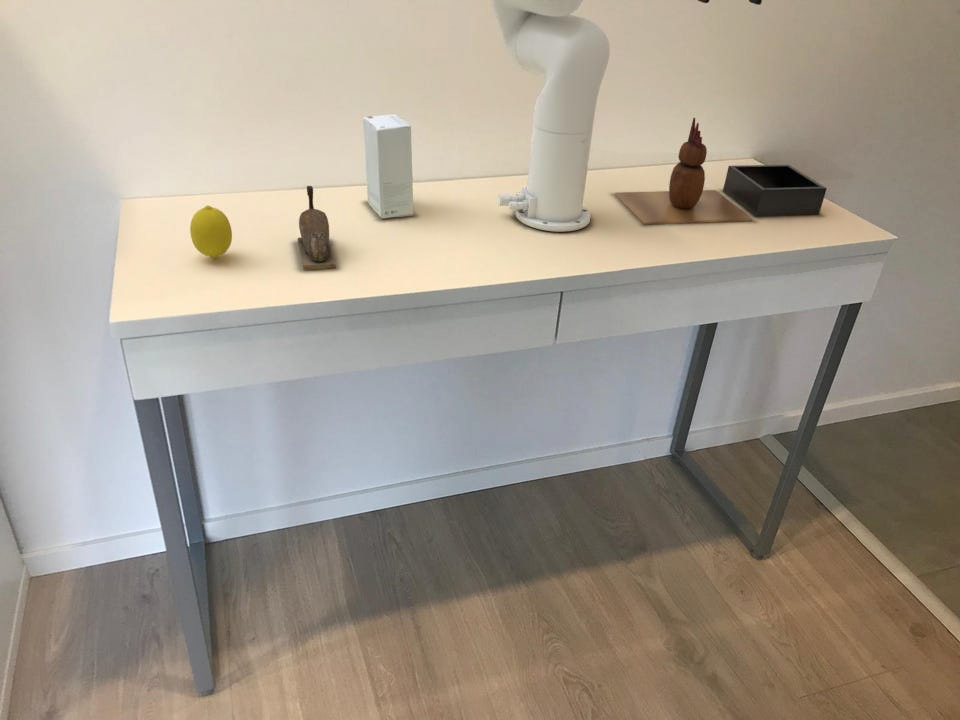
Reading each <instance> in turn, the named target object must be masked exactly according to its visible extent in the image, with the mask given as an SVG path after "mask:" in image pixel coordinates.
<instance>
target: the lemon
mask: <svg viewBox="0 0 960 720" xmlns="http://www.w3.org/2000/svg"><path fill="white" fill-rule="evenodd" d="M189 227H190V228H189V231H190V232H189V233H190V238H191V241H192V244H193V247H195V249H196V250H197V251H198V252H199V253H201V255H203V256H206V257H209V258H210V259H212V260H217V259H218V258H219V256H222V255H223V254H225V253H226V252H227V251H228V250H229V249H230V247H231V245H232V240H233V233H232V231H233V230H232V227H231V223H230V221H229V218H228V217H227V216H226V214H225V213H224V212H223V211H222V210H220V209H219V208H216V207H212V206H211V205H205V206H204V207H202V208H200V209H198V210H197V211H196V212H195V213H194V214H193V216H192V218H191V221H190V226H189Z"/></svg>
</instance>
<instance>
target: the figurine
mask: <svg viewBox="0 0 960 720" xmlns="http://www.w3.org/2000/svg"><path fill="white" fill-rule="evenodd" d="M306 194H307V195H306V196H308V209H306V210H304V211H302V212H301V213H300V216H299V219H298V229H299V233H300V236H301V237H297V245H298V249H299V254H300V259H301V263H302V268H303V271H310V270H311V271H312V270H313V271H314V270H326V269H335V268H336V262H335V258H334V256H333V252H332V249H331V245H330V223H329V218H328V216H327V214H326V212H324V211H322V210H320V209H317V208H314V187H313V186H312V185H307V186H306Z"/></svg>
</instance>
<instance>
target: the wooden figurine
mask: <svg viewBox="0 0 960 720" xmlns="http://www.w3.org/2000/svg"><path fill="white" fill-rule="evenodd" d="M699 126H700V124H699V122H697V123H696V117H693V119H692V122H691V126H690V130H689V134H688V138H687V141H685V142H683V143H682V145H681V146H680V148H679V152H678V160H679V162H678V163H676V165H675V166H674V167H673V169H672V171H671V174H670V178H669V184H668V185H669V187H668V191H669V198H670V202H671V203H672V204H673V205H674V206H676V207H678V208H684V209H688V208H692V207H694V206H695V205H696V204H697V202H698V201H699V199H700V197H701V194H702V191H703V190H704V187H705V182H706V174H705V173H706V172H705V169H704V167H703V166H702V165H703V164H704V163H705V162H706V159H707V153H708V149H707V146H706V145H705V144H704V143H703V136H701V130H699V128H700V127H699Z"/></svg>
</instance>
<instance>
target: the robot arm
mask: <svg viewBox="0 0 960 720" xmlns="http://www.w3.org/2000/svg"><path fill="white" fill-rule="evenodd" d="M490 1H491V5H492V8H493V11H494V15H495V18H496V21H497V24H498V27H499V30H500V31H499V32H500V33H501V37H502V41H503V44H504V46H505V49H506V51H507V53H508V56H509V57H510V59H511V60H512V62H513V63H514V64H515V65H516V66H517V67H519V68H521V69H522V70H525V71H526V72H529V73H532V74H535V75H537V76H539V77H543V78H545V79H546V82H545V85H544V87H543V88H542V90H541V92H540V93H539V95H538V97H537V99H536V102H535V105H534V109H533V117H532V131H531V141H530V153H529V164H528V175H527V186H522V187H521V191H519V192H516V194H509V193H505V194H503V193H502V194H498V195H497V205H498V207H508V210H509V211H515V217H516V219H517V220H518V221H519V222H520V223H522V224H524V225H526V226H528V227H531V228H533V229H537V230H542V231H546V232H556V233H557V232H559V233H561V232H565V233H566V232H574V231H578V230H581V229H583V228H585V227H587V226H588V225H589V224H590V221H591V212H590V211H589V209H587V208H586V207H585V206H584V199H585V190H586V183H587V175H588V168H589V160H590V152H591V144H592V137H593V129H594V121H595V113H596V107H597V102H598V97H599V94H600V89H601V85H602V82H603V79H604V77H605V73H606V70H607V67H608V63H609V59H610V48H611V47H610V42H609V38H608V36H607V34H606V33H605V31H604V30H603V29H602V28H601V26H600V25H599V24H596V23H595V22H593V21H591V20H589V19H586V18H584V17H581V16H577V15H574V14H573V13H574V12H576V11H577V10H578V9H579V7H580V6H582V5H581V4H582V3H583V0H490ZM697 1H698V2H700V3H703V4H708V3H710V0H697ZM762 1H763V0H748V2H749V3H751V4H754V5H758V6H759V5H761V4H762Z"/></svg>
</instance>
